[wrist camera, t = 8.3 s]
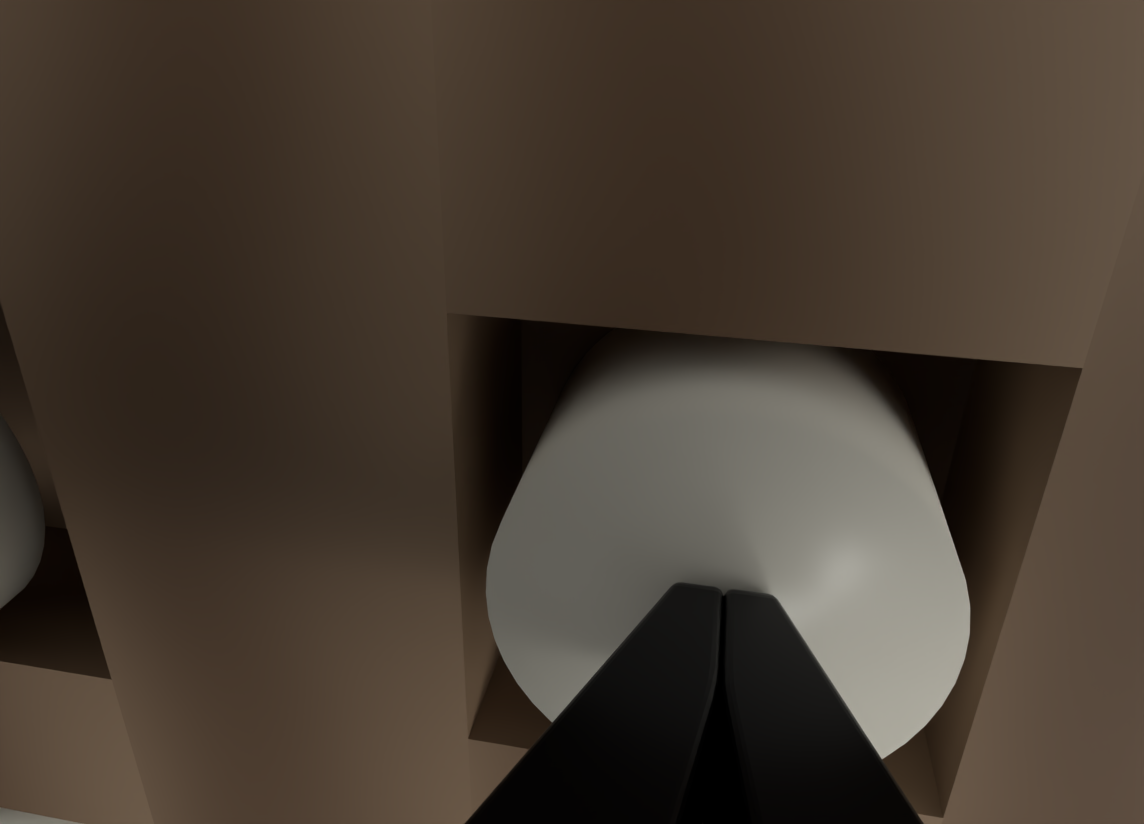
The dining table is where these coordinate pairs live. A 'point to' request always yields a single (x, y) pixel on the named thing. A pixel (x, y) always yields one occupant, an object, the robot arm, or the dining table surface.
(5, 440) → the outer button
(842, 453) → the outer button
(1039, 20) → the button board
